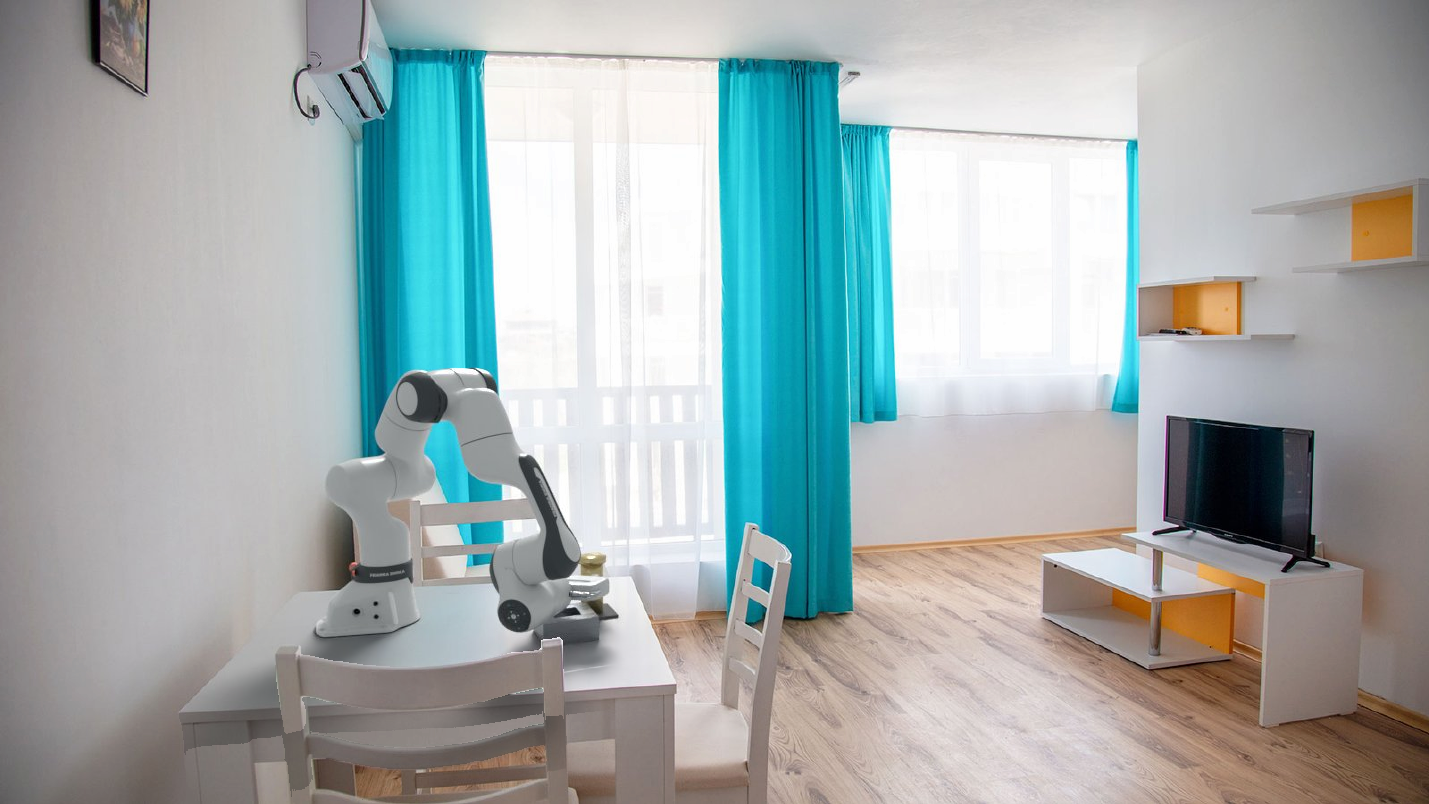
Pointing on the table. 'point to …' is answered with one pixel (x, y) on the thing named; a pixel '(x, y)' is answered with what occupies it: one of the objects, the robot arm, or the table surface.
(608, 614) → the mat
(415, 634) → the table surface
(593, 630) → the housing
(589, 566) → the brass flanged peg
